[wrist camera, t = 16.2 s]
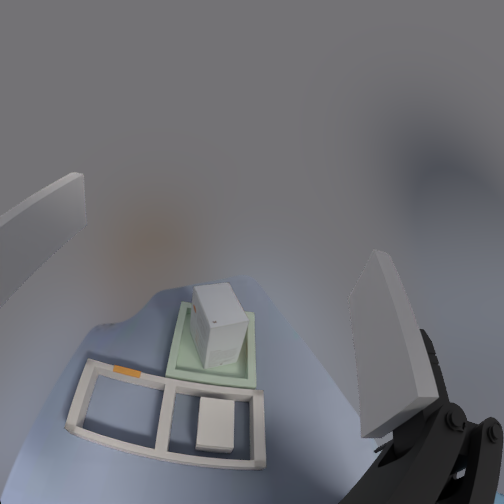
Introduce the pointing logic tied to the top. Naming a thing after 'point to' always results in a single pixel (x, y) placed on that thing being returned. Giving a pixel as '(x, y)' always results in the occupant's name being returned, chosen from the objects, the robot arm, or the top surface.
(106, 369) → the beige divided frame
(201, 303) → the small box
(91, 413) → the top surface
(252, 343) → the tray
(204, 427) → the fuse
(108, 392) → the top surface
